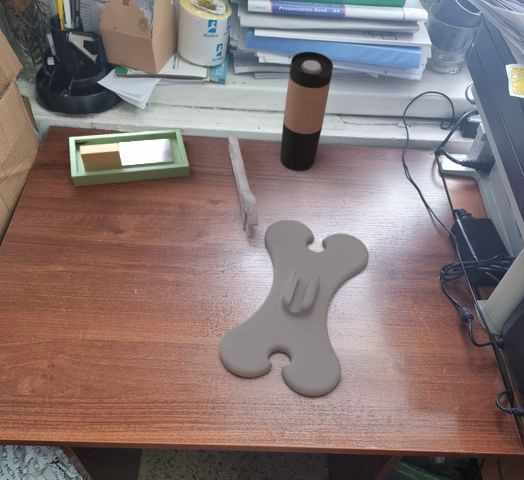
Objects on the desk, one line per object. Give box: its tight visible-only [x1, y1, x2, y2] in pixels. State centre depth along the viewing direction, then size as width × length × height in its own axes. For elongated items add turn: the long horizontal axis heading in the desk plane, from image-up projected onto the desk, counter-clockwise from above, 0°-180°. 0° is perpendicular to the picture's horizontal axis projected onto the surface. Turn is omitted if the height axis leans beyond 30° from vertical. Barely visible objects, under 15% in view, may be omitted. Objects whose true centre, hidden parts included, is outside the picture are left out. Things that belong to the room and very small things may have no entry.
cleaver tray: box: [68, 128, 191, 187], centre depth 100 cm, size 22×12×2 cm, turn 103°
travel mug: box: [279, 51, 334, 172], centre depth 97 cm, size 8×8×20 cm
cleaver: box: [80, 139, 174, 172], centre depth 99 cm, size 17×7×4 cm, turn 104°
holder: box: [218, 219, 370, 397], centre depth 83 cm, size 19×34×5 cm, turn 164°
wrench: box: [228, 136, 259, 239], centre depth 96 cm, size 8×2×30 cm
